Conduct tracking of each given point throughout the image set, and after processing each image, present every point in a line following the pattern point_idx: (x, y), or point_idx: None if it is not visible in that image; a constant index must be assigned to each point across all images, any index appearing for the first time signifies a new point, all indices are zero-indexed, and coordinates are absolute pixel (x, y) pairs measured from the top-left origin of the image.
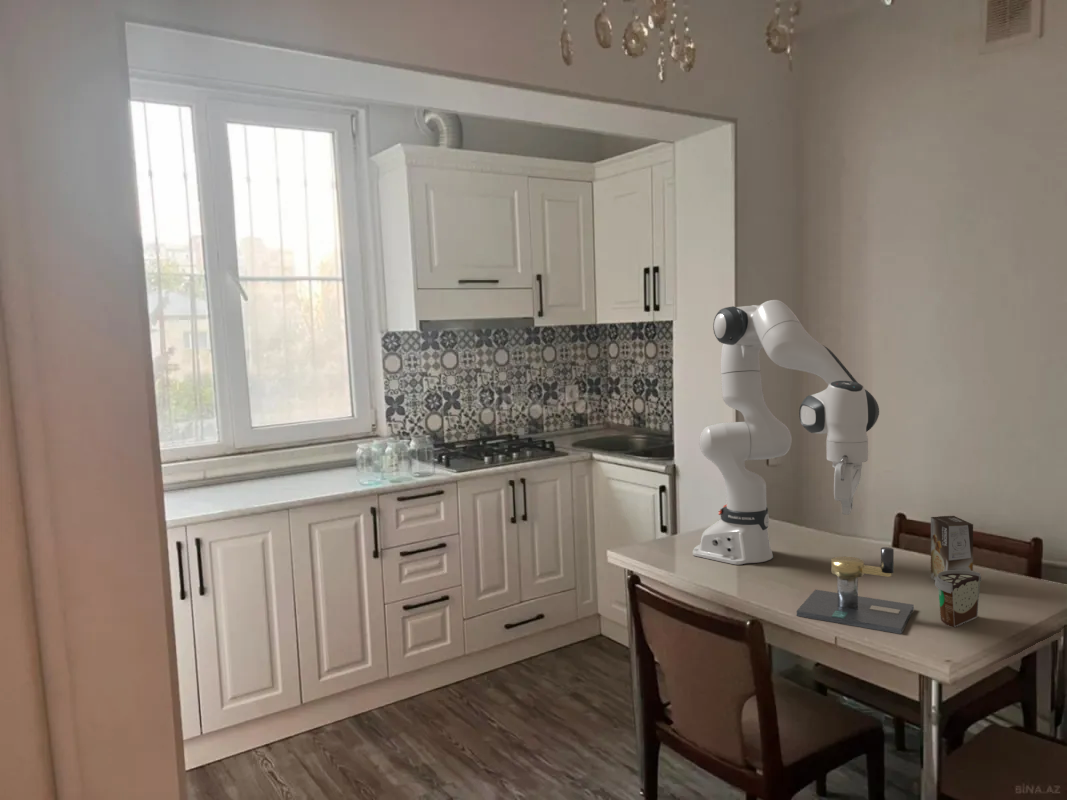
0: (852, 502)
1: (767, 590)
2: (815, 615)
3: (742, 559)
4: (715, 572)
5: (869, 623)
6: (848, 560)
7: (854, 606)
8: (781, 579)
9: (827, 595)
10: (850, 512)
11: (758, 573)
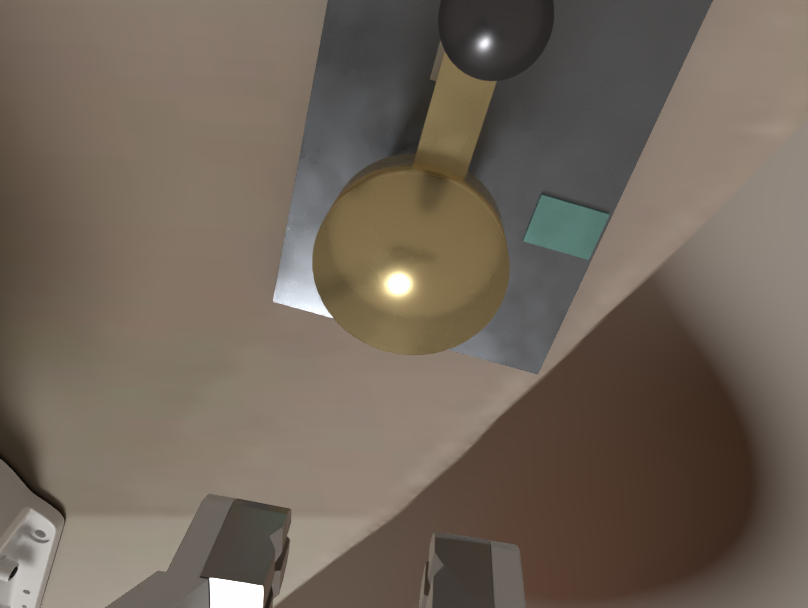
0: (191, 571)
1: (289, 439)
2: (565, 312)
3: (29, 514)
4: (167, 565)
5: (661, 108)
6: (395, 265)
7: None
8: (150, 396)
9: None
10: (485, 548)
11: (118, 460)
